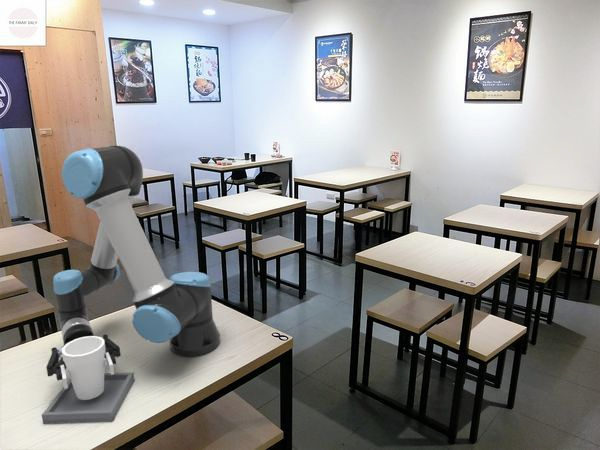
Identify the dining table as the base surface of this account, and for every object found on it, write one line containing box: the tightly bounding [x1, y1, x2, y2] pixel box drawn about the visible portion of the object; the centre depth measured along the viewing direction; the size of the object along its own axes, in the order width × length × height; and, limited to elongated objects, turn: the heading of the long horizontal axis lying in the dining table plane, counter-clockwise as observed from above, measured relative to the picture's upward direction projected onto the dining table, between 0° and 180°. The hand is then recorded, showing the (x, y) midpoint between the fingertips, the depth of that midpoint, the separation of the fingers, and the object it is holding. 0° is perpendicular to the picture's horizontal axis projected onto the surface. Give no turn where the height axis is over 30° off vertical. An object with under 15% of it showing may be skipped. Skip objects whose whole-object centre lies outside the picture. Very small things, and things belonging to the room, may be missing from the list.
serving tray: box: [41, 371, 136, 425], centre depth 110 cm, size 16×16×2 cm
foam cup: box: [61, 335, 105, 400], centre depth 108 cm, size 10×9×13 cm
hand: (89, 376), depth 104 cm, fingers closed on foam cup, 9 cm apart
